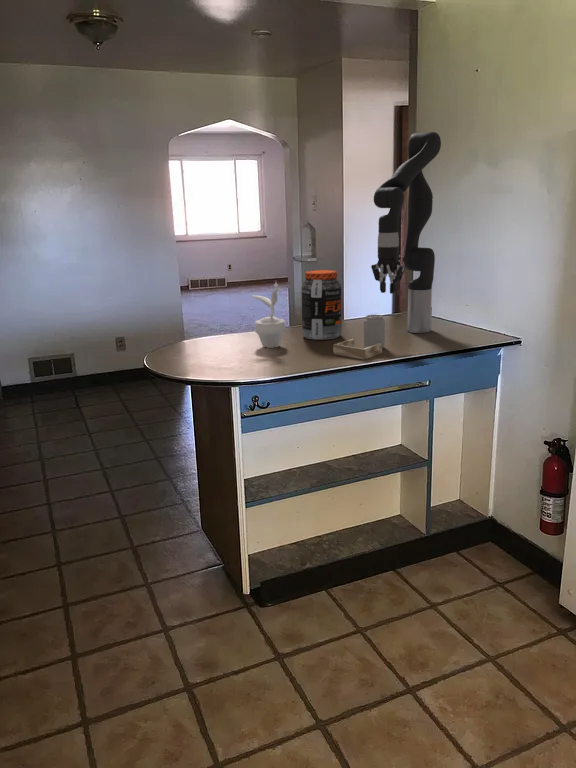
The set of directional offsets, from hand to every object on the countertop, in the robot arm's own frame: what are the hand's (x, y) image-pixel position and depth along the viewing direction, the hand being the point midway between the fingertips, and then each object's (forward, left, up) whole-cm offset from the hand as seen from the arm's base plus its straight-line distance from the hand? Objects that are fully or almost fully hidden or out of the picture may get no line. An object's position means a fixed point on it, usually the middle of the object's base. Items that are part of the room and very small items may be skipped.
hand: (387, 292), depth 233 cm
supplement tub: (+5, -28, -19) cm, 34 cm away
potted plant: (+29, -34, -19) cm, 48 cm away
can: (+9, 0, -19) cm, 21 cm away
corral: (+19, 0, -19) cm, 27 cm away
